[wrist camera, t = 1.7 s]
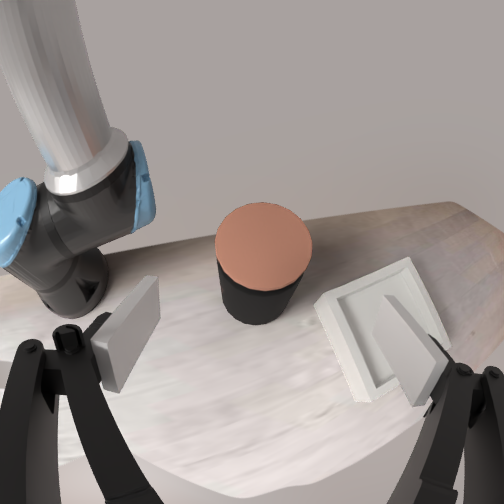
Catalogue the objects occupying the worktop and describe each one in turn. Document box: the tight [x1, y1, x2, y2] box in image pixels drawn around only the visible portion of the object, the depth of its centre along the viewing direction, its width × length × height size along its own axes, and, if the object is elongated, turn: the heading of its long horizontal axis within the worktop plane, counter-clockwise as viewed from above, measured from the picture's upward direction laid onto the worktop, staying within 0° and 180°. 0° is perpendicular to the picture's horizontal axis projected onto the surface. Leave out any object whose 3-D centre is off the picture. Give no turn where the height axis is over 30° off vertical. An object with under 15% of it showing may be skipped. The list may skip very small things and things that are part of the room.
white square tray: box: [314, 256, 452, 402], centre depth 42 cm, size 18×18×6 cm
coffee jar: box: [215, 202, 312, 325], centre depth 39 cm, size 11×11×18 cm
